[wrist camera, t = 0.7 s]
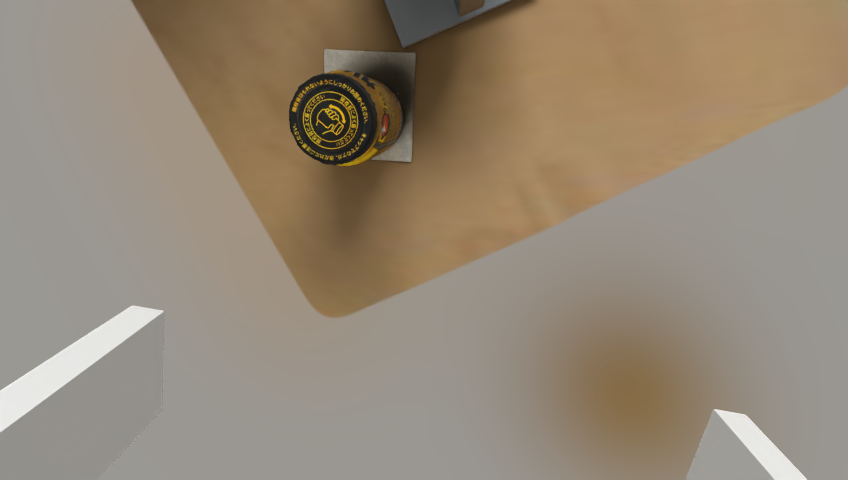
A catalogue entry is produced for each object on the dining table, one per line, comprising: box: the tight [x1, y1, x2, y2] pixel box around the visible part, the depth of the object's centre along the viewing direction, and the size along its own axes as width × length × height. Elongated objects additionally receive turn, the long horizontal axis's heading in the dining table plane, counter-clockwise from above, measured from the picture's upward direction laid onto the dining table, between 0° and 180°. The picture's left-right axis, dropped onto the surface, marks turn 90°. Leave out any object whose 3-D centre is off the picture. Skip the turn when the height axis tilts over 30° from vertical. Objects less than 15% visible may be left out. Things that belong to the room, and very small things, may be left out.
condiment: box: [289, 49, 416, 166], centre depth 34 cm, size 7×8×12 cm
